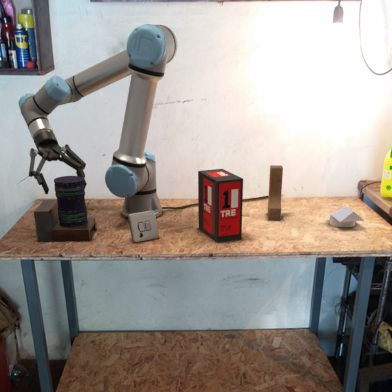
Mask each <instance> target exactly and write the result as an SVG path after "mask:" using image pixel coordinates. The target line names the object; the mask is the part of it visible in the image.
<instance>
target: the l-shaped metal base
mask: <svg viewBox="0 0 392 392" xmlns="http://www.w3.org/2000/svg"><path fill="white" fill-rule="evenodd" d="M33 218H34V224H35V230H36V237H37V238H36V239H37V242H90V241H91V231H96V230H97V218H96V217H87V220H88V224H86V225H84V226H80V227H71V228H70V227H62V226H60V224H59V222H60V221H59V217H58V203H57V199H53V200H51V199H47V200H45V199H44V200H43V201H42V202H41V203H39V205H38V206H37V207H36V208H35V209H34V210H33Z"/></svg>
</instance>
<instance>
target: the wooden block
mask: <svg viewBox="0 0 392 392" xmlns="http://www.w3.org/2000/svg"><path fill="white" fill-rule="evenodd" d="M283 175H284V168H283V165H281V164H277V165H275V164H274V165H273V164H271V165H269V176H268V177H269V179H268V195H269V196H268V195H267V196H268V200H267V202H268V203H267V219H268V221H281V219H282V192H283Z"/></svg>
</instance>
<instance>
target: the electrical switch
mask: <svg viewBox="0 0 392 392" xmlns="http://www.w3.org/2000/svg"><path fill="white" fill-rule="evenodd" d="M127 220H128V225H129V231H130V236H131V240H132V241H133V243H139V242H144V241H150V240H156V239H158V238H159V237H160V235H159V234H160V233H159V227H158V222H157V217H156V216H155V211H152V210H151V211H145V212H139V213H134V214H130V215H129V217H128V218H127Z"/></svg>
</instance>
